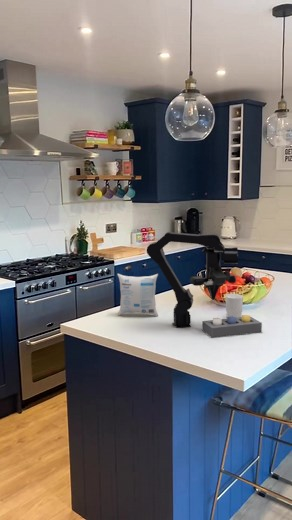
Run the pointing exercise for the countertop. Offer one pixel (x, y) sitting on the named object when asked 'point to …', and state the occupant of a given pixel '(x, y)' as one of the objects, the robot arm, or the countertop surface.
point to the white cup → (234, 305)
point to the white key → (217, 321)
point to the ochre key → (245, 318)
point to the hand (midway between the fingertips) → (212, 299)
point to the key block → (231, 327)
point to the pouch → (137, 294)
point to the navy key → (231, 320)
